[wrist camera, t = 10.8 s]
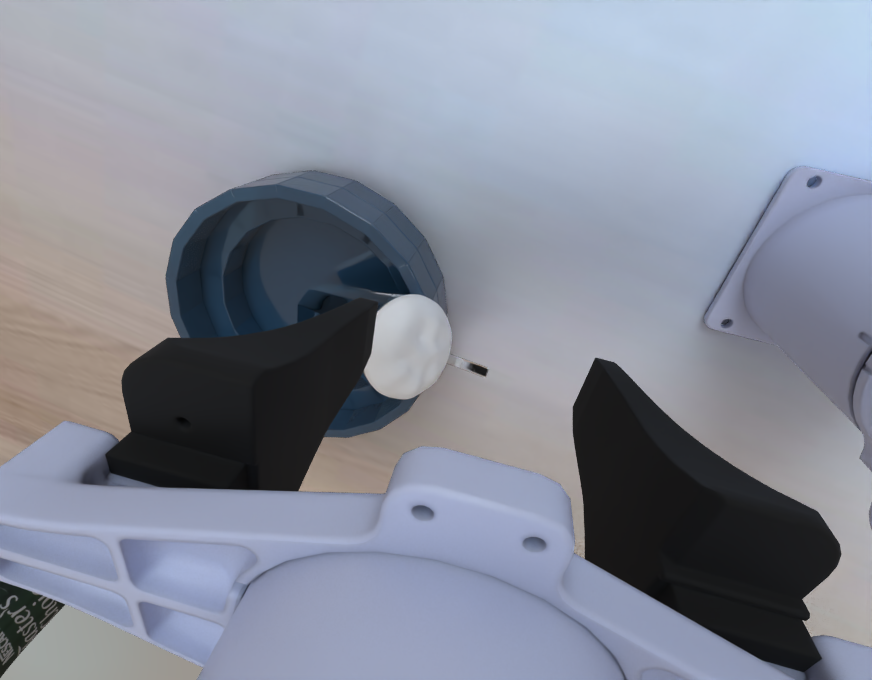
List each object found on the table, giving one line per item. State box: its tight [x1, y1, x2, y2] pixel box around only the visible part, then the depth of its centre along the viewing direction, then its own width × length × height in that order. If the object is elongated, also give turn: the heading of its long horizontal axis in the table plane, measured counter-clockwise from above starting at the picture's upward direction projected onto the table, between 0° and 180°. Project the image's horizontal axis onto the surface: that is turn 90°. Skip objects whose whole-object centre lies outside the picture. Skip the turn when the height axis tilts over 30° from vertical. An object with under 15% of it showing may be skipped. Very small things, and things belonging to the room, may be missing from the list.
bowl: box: [166, 171, 447, 438], centre depth 24 cm, size 14×14×4 cm
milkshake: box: [297, 283, 489, 399], centre depth 21 cm, size 4×5×10 cm
